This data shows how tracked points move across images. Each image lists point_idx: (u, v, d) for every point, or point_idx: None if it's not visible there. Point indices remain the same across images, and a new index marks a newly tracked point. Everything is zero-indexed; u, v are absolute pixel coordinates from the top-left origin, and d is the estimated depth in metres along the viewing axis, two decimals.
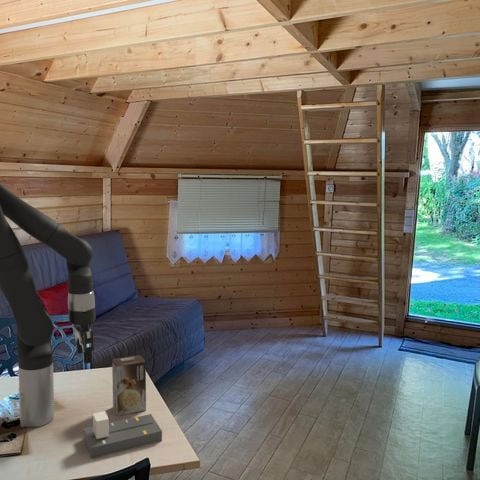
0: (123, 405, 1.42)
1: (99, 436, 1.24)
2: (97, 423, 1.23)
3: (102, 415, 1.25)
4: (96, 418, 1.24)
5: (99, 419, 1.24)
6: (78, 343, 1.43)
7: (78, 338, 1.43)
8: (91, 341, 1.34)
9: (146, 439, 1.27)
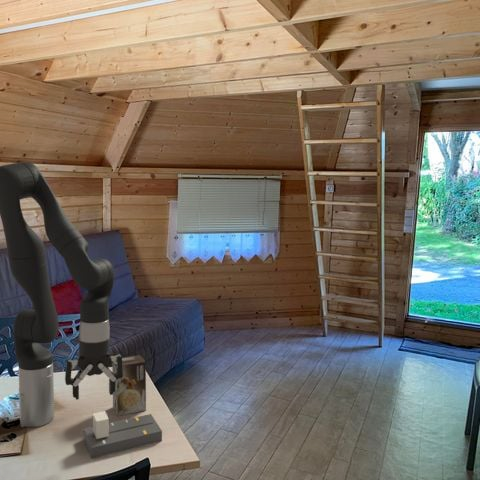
0: (123, 405, 1.42)
1: (99, 436, 1.24)
2: (97, 423, 1.23)
3: (102, 415, 1.25)
4: (96, 418, 1.24)
5: (99, 419, 1.24)
6: (78, 387, 1.20)
7: None
8: None
9: (146, 439, 1.27)
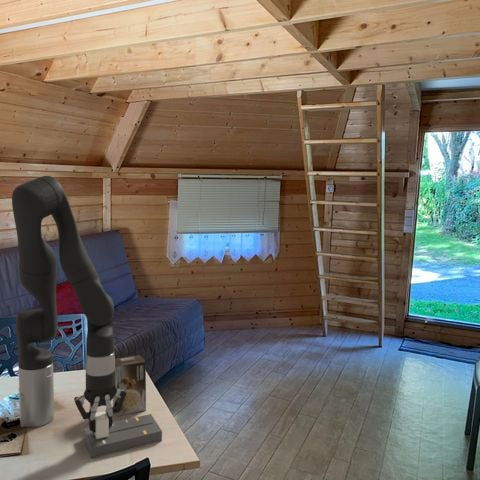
0: (123, 405, 1.42)
1: (99, 436, 1.24)
2: (97, 423, 1.23)
3: (102, 415, 1.25)
4: (96, 418, 1.24)
5: (99, 419, 1.24)
6: None
7: None
8: None
9: (146, 439, 1.27)
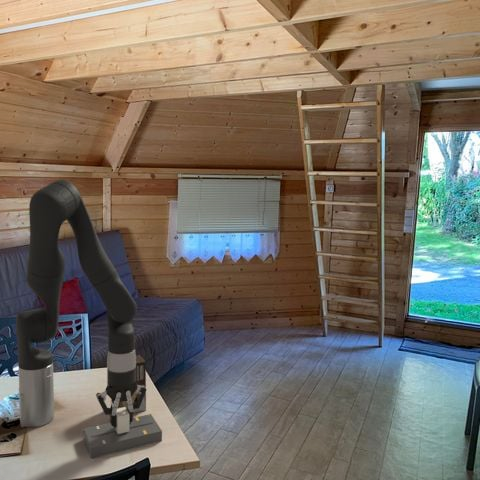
0: (123, 405, 1.42)
1: (120, 431, 1.26)
2: (118, 418, 1.25)
3: (122, 411, 1.28)
4: (117, 414, 1.27)
5: (120, 415, 1.26)
6: None
7: None
8: None
9: (146, 439, 1.27)
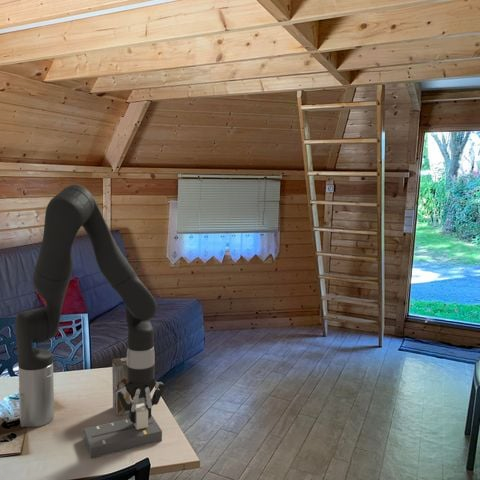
0: None
1: (139, 427, 1.29)
2: (137, 414, 1.28)
3: (141, 407, 1.31)
4: (136, 409, 1.29)
5: (139, 410, 1.29)
6: None
7: None
8: None
9: (146, 439, 1.27)
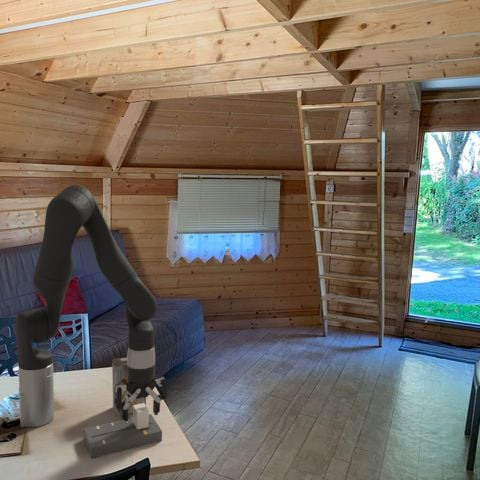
0: None
1: (140, 427, 1.29)
2: (138, 414, 1.28)
3: (141, 407, 1.31)
4: (137, 409, 1.29)
5: (139, 410, 1.29)
6: None
7: None
8: None
9: (146, 439, 1.27)
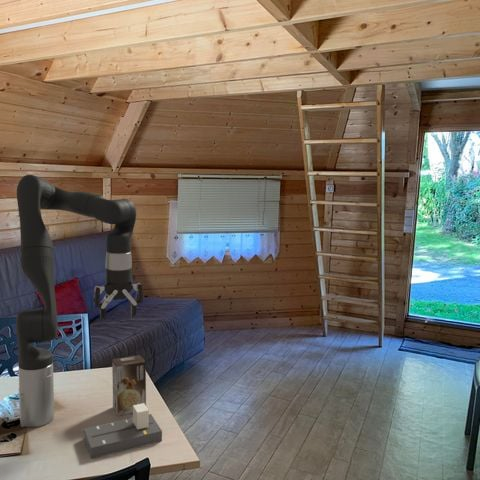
0: (123, 405, 1.42)
1: (140, 427, 1.29)
2: (138, 414, 1.28)
3: (141, 407, 1.31)
4: (137, 409, 1.29)
5: (139, 410, 1.29)
6: (105, 309, 1.39)
7: None
8: None
9: (146, 439, 1.27)
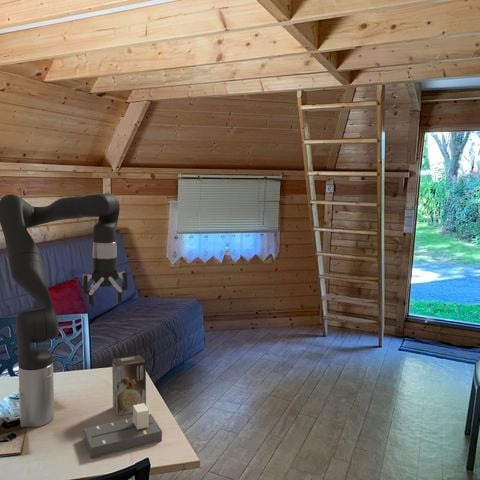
0: (123, 405, 1.42)
1: (140, 427, 1.29)
2: (138, 414, 1.28)
3: (141, 407, 1.31)
4: (137, 409, 1.29)
5: (139, 410, 1.29)
6: (92, 296, 1.50)
7: None
8: None
9: (146, 439, 1.27)
